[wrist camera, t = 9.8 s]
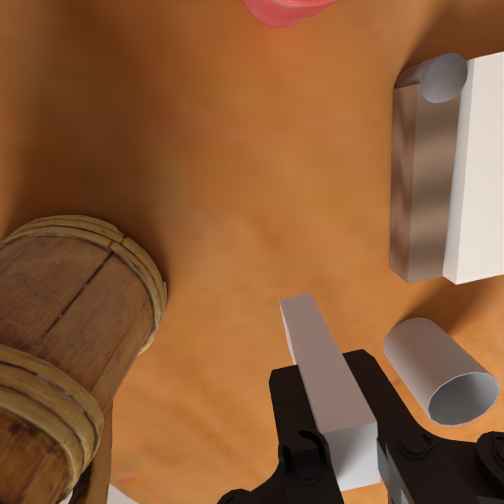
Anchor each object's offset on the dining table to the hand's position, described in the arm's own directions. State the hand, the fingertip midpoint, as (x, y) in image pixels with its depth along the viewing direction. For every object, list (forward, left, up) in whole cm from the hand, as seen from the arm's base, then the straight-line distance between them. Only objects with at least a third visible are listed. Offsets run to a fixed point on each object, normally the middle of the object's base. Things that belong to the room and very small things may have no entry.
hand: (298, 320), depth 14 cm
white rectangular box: (+1, +25, -20) cm, 32 cm away
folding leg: (0, +17, -20) cm, 26 cm away
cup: (+24, +18, -21) cm, 36 cm away
